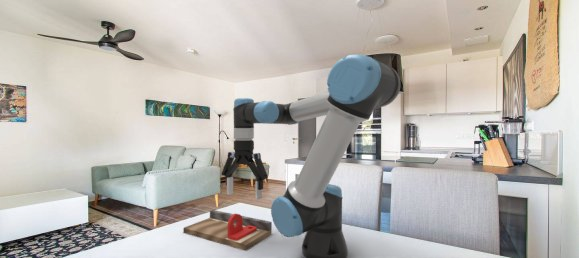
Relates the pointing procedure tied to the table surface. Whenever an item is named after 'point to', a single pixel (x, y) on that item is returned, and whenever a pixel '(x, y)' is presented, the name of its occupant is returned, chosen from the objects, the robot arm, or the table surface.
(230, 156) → the robot arm
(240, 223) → the bracket
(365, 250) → the table surface
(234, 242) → the board
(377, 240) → the table surface
